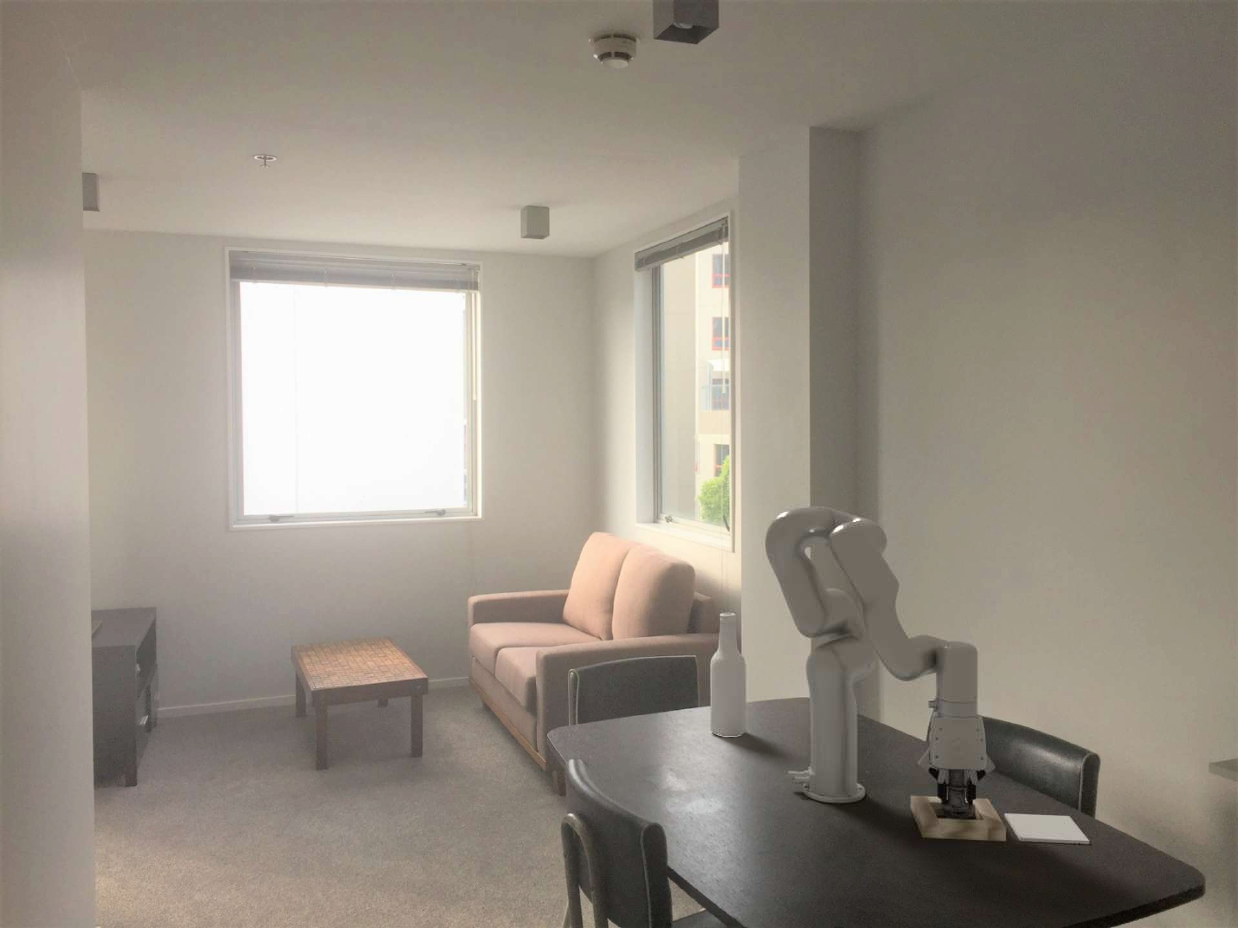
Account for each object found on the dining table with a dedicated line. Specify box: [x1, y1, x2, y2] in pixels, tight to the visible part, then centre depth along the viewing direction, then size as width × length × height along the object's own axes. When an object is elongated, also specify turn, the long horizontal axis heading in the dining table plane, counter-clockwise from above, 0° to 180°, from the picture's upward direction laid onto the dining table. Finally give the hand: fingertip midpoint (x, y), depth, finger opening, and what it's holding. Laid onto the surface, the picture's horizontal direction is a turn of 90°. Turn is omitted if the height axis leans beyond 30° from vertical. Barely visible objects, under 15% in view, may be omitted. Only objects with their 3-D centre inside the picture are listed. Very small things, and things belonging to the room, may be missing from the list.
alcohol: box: [709, 612, 747, 736], centre depth 253 cm, size 9×9×30 cm
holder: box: [910, 795, 1007, 842], centre depth 194 cm, size 15×15×2 cm
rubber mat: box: [1004, 813, 1090, 845], centre depth 191 cm, size 12×12×1 cm
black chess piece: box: [940, 770, 973, 820], centre depth 194 cm, size 6×6×12 cm
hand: (956, 801), depth 194 cm, fingers closed on black chess piece, 4 cm apart
